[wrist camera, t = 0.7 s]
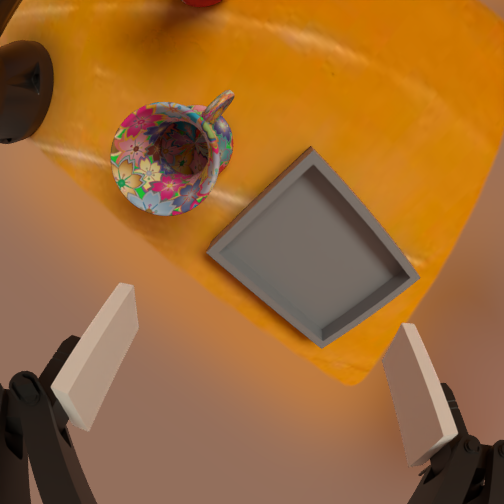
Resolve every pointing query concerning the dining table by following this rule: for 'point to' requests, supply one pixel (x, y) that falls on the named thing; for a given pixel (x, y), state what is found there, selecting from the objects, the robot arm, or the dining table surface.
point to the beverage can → (200, 2)
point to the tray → (314, 252)
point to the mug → (171, 154)
